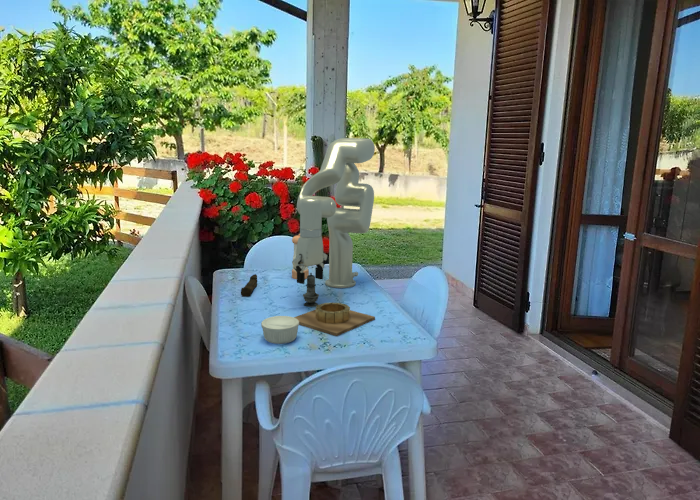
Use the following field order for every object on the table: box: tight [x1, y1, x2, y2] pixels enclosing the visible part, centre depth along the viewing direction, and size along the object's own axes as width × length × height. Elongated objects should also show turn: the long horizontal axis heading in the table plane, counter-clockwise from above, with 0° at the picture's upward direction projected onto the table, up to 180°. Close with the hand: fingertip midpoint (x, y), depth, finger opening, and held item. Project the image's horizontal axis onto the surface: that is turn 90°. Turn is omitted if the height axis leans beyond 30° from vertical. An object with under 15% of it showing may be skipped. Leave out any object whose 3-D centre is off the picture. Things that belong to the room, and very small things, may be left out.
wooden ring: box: [315, 301, 351, 324], centre depth 170 cm, size 11×11×4 cm
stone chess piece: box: [302, 272, 320, 308], centre depth 186 cm, size 6×6×12 cm
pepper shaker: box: [291, 233, 310, 280], centre depth 222 cm, size 7×7×19 cm
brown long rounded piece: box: [240, 273, 258, 298], centre depth 204 cm, size 19×4×5 cm, turn 176°
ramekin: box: [260, 315, 300, 345], centre depth 155 cm, size 11×11×5 cm
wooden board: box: [293, 309, 376, 337], centre depth 171 cm, size 20×20×1 cm
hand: (310, 280), depth 185 cm, fingers open, 9 cm apart
